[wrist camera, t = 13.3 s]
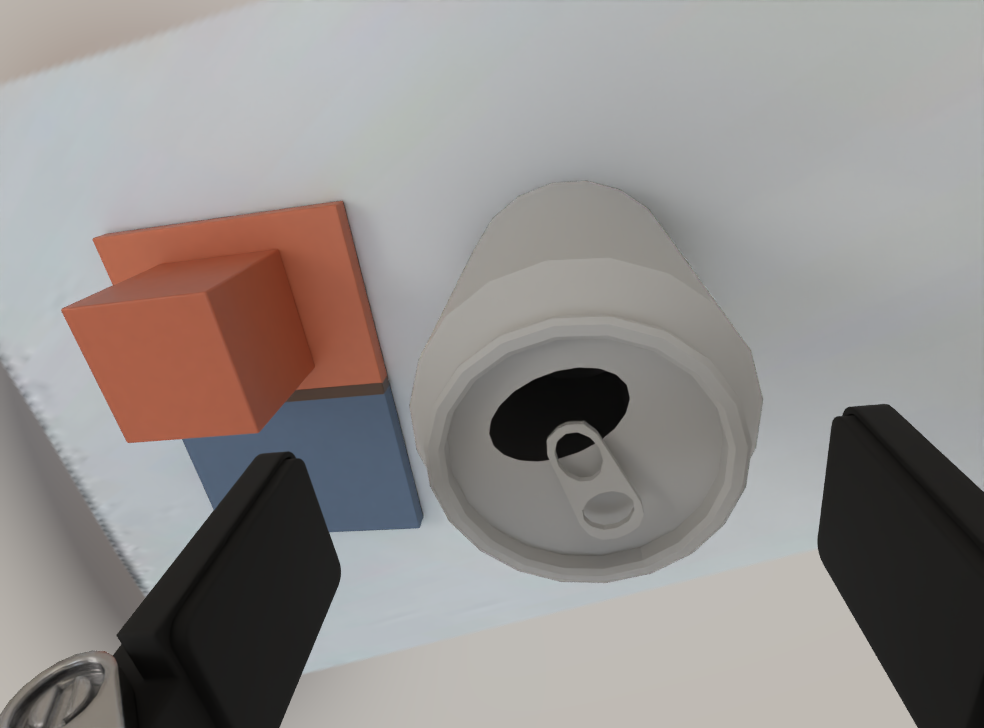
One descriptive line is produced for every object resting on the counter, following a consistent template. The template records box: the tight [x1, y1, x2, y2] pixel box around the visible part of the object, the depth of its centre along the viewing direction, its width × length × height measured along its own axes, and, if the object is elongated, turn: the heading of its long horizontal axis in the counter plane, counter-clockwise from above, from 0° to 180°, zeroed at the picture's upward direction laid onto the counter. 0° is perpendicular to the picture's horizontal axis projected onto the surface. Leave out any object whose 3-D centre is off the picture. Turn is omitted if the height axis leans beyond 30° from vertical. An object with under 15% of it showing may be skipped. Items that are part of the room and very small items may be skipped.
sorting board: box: [93, 201, 423, 532], centre depth 25 cm, size 10×15×1 cm, turn 9°
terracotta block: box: [61, 249, 315, 443], centre depth 21 cm, size 5×5×5 cm
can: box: [409, 181, 763, 583], centre depth 16 cm, size 8×8×12 cm
